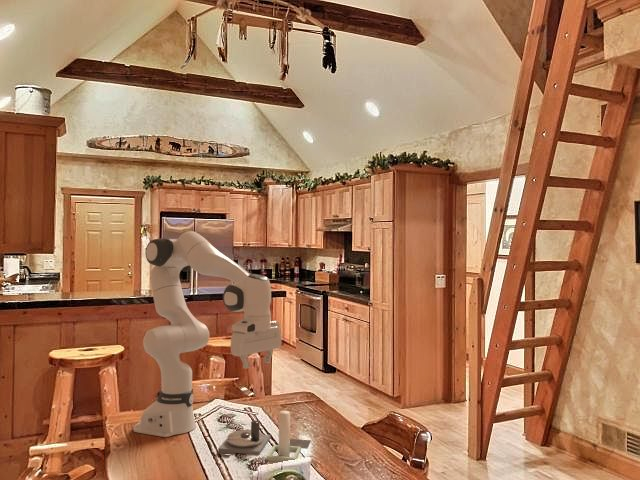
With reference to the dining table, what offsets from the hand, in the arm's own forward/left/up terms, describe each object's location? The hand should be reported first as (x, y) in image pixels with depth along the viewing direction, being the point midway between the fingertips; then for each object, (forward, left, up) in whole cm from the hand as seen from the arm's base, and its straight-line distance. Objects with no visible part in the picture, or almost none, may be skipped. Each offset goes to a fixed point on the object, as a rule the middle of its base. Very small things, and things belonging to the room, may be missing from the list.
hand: (257, 365), depth 164 cm
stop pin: (+10, -2, -28) cm, 30 cm away
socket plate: (+13, +8, -29) cm, 33 cm away
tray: (+10, -2, -29) cm, 31 cm away
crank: (-5, +4, -27) cm, 28 cm away
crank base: (-5, +4, -29) cm, 30 cm away
